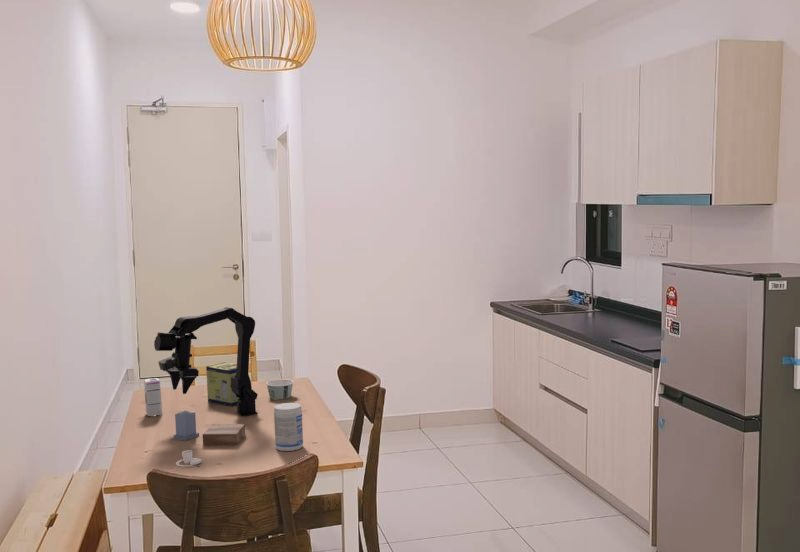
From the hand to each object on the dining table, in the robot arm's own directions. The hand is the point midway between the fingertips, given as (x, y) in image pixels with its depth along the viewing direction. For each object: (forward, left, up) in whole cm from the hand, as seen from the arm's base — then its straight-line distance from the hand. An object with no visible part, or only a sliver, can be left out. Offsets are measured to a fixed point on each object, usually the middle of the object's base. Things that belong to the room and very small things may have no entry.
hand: (179, 391), depth 286 cm
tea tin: (+2, +13, -14) cm, 19 cm away
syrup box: (+3, -25, -14) cm, 28 cm away
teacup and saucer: (+12, +43, -15) cm, 47 cm away
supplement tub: (-23, +47, -14) cm, 55 cm away
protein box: (-29, -26, -14) cm, 41 cm away
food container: (-50, -19, -14) cm, 55 cm away
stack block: (-8, +25, -14) cm, 30 cm away
